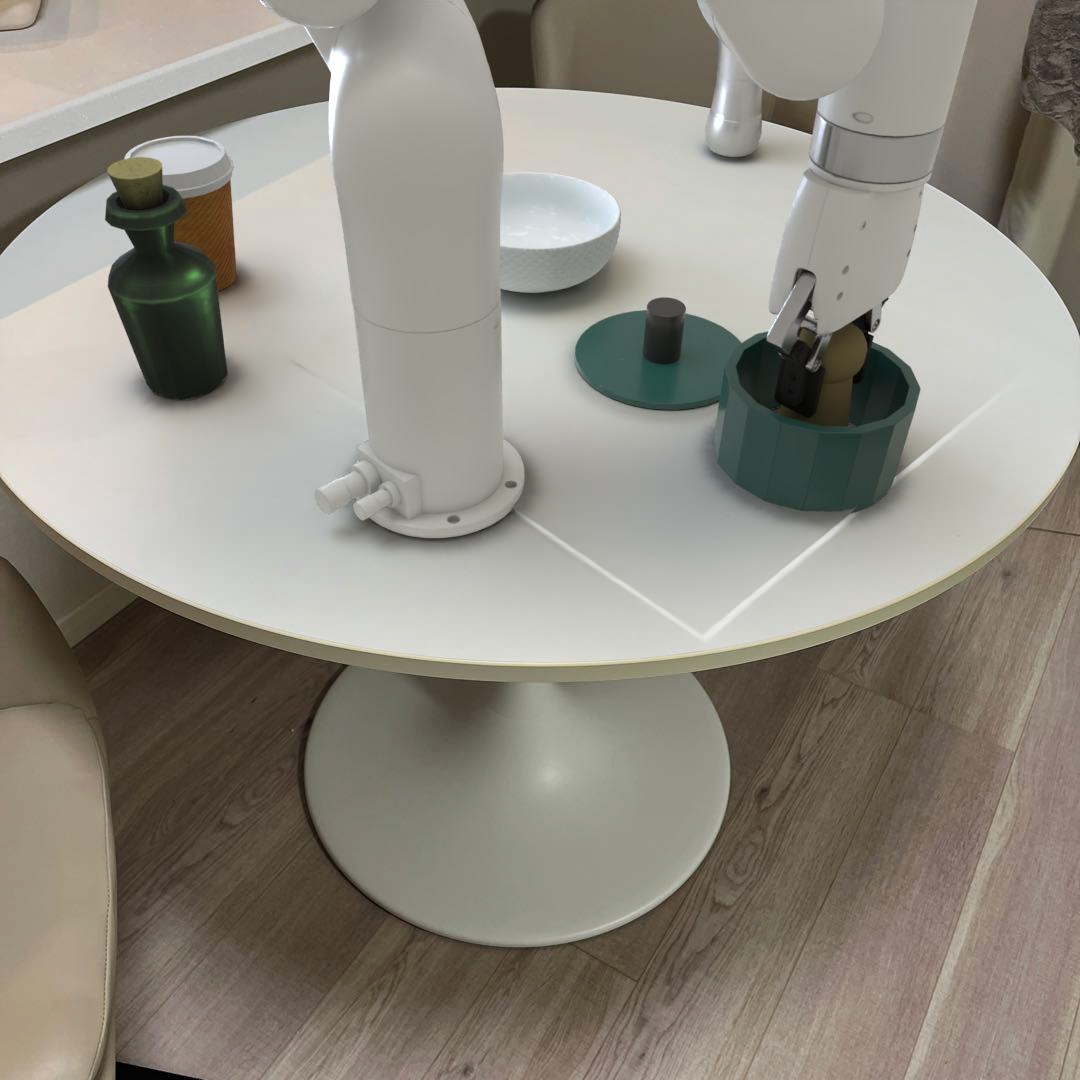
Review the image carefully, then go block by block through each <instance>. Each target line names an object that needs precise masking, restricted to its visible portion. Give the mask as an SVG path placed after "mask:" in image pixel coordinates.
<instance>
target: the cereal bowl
mask: <svg viewBox="0 0 1080 1080" xmlns="http://www.w3.org/2000/svg"><path fill="white" fill-rule="evenodd" d="M621 223H622V210H621V206H620V204H619V202H618V201H617V199H616V198H615V197H614V196H613V195H612V194H611V193H610V192H608V191H607V190H606V189H604V188H602V187H601V186H599V185H597V184H595V183H592V182H590V181H587V180H584V179H581V178H578V177H574V176H570V175H565V174H560V173H553V172H543V171H513V172H503V185H502V200H501V221H500V280H501V290H503V291H510V292H515V293H522V294H540V293H548V292H554V291H560V290H563V289H564V290H565V289H568V288H572V287H574V286H577V285H579V284H581V283H583V282H585V281H587V280H590V279H591V278H592V277H593V276H595V275H597V274H598V272H600V271H601V270H602V269H603V268H604V267H605V266H606V265H607V263H609V261H610V259H611V258H612V256H613V253H615V250H616V246H617V245H618V240H619V237H620V231H621Z"/></svg>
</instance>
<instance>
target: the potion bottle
mask: <svg viewBox="0 0 1080 1080" xmlns="http://www.w3.org/2000/svg"><path fill="white" fill-rule="evenodd" d="M107 174H108V177H109V178H110V180H111V182H112V184H113V186H114V189H115V192H112V193H111V194H110V195H109V196H108V197H107V198H106V201H105V215H104V221H105V222H106V223H107V224H108V225H109V226H111V227H113V228H116V229H119V230H123V231H124V232H125V234H126V236H127V237H128V239H129V241H130V242H131V245H132V246H133V247H132V248H131V249H129V250H128V251H125V253H123V254H121V255H119V257H118V258H117V259H116V260H114V262H113V263H112V264H111V267H110V269H109V273H108V276H107V288H108V292H109V293H110V296H111V299H112V300H113V303H114V306H115V308H116V311H117V314H118V317H119V318H120V321H121V324H122V326H123V329H124V331H125V334H126V336H127V339H128V341H129V343H130V346H131V348H132V351H133V353H134V356H135V358H136V361H137V363H138V366H139V369H140V372H141V374H142V376H143V378H144V380H145V384H146V386H147V387H148V388H149V389H150V390H151V392H153V393H154V394H156V395H158V396H161V397H163V398H166V399H170V400H189V399H197V398H199V397H202V396H205V395H208V394H211V393H212V392H213V391H215V390H216V389H218V388H219V387H220V386H221V385H222V384H223V382H224V381H225V379H226V378H227V376H228V366H227V357H226V348H225V339H224V330H223V323H222V322H223V321H222V314H221V306H220V297H219V291H218V288H217V279H216V271H215V265H214V263H213V262H212V261H211V260H210V259H209V258H208V257H207V256H206V255H205V254H204V253H203V252H202V251H201V250H200V249H199V248H196V247H193V246H190V245H187V244H184V243H179V242H175V241H174V222H176V221H178V220H180V219H181V218H182V217H183V216H184V215H185V213H186V212H187V205H186V204H185V202H184V200H183V199H182V197H181V195H180V194H179V192H178V191H177V190H175V189H174V188H173V187H169V186H166V185H163V177H162V163H161V162H160V161H159V160H157V159H153V158H148V157H136V158H128V159H120V160H118V161H116V162H113V163H112V164H111V165H110V166H109V167H107Z"/></svg>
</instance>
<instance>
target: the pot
mask: <svg viewBox="0 0 1080 1080" xmlns="http://www.w3.org/2000/svg"><path fill="white" fill-rule="evenodd" d="M769 331H770V330H767V331H764V332H763V331H762V332H758V333H756V334H754V335H752V336H750V337H749V338H747V339H745V340H744V341H742V342H741V343H740V344H739V345H737V346H736V347H735V348H734V349H733V351H732V353H731V355H730V357H729V359H728V361H727V362H726V364H725V368H724V375H723V381H722V388H721V394H720V401H718V408H717V415H716V421H715V428H714V433H713V434H714V435H713V441H712V444H713V448H714V454H715V458H716V463H717V464H718V466H719V467H720V468H721V469H722V470H723V471H724V472H725V474H726V475H727V476H728V477H729V479H731V480H732V482H733V483H734V484H735V485H736V486H737V487H740V488H741V489H743V490H745V491H747V492H748V493H750V494H752V495H753V496H755V497H757V498H759V499H760V500H762V501H764V502H765V503H766V502H767V503H770V504H772V505H773V504H774V505H777V506H782V507H786V508H789V509H792V510H795V511H796V510H797V511H801V512H843V511H848V510H851V509H854V510H852V511H851V512H850V514H853V513H854V514H855V513H857V512H861V511H863V510H865V509H868V508H870V507H872V506H874V505H876V503H878V502H879V501H880V500H881V499H882V498H884V497H885V496H886V495H887V494H888V492H889V491H890V489H891V487H892V486H893V483H894V480H895V477H896V475H897V474H896V473H897V470H898V467H899V464H900V461H901V457H902V455H903V451H904V448H905V445H906V441H907V439H908V438H907V437H908V435H909V432H910V428H911V425H912V421H913V418H914V416H915V412H916V409H917V404H918V402H919V397H920V394H921V390H922V389H921V386H920V383H919V382H918V380H917V378H916V376H915V375H916V374H915V373H914V371H913V368H912V367H911V366H910V365H909V364H908V363H906V361H904V360H903V359H902V358H901V357H899V356H898V355H897V354H896V353H894V352H893V351H892V350H891V349H890V348H887V346H883V345H881V344H879V343H876V342H874V341H873V342H872V346H871V350H870V354H869V358H868V362H867V365H866V369H865V373H864V377H863V380H862V381H861V382H859V383H858V384H853V383H852V393H851V404H850V414H849V423H851V424H853V425H855V426H850V425H848V426H820V425H815V424H811V423H807V422H803V421H799V420H794V419H790V418H786V417H784V416H782V415H780V414H778V412H776V411H774V410H772V409H775V408H776V409H777V408H778V409H780V406H781V404H779V403H777V402H776V401H775V398H774V396H775V391H776V386H777V380H778V375H779V370H780V365H781V360H782V358H780V357H779V355H778V354H779V352H778V351H777V350H776V348H775V347H774V346H772V345H771V344H770V343H769V342H767V335H768V332H769Z"/></svg>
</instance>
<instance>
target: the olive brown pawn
mask: <svg viewBox="0 0 1080 1080" xmlns="http://www.w3.org/2000/svg"><path fill="white" fill-rule="evenodd" d="M813 318H814V317H813ZM814 319H816V318H814ZM816 320H818V319H816ZM816 335H817V334H815V333H813V332H811V331H808V330H806V329H804V328H802V331H801V334H800V337H799V339H800V340H801V341H803V342H805V343H807V345H808V346H809V347H810V348H811V349H812V346H813V343H814V341H815V338H816ZM866 353H867V342H866V339H865V336H864V334H863V332H862V331H861V330H860V329H859V328H858V327H857V326H855V325H854V324H852V323H849V324H847V325H845V326H844V327H842V328H840V329H839V330H837V331H835V332H833V334H832V337H831V339H830V342H829V345H828V347H827V350H826V352H825V355H824V358H823V360H822V363H821V365H820V366H822V367H823V368H826V370H825V375H824V379H823V384H822V388H821V392H820V397H819V401H818V406H817V410H816V413H815V414H814V415H813V416H812V417H810V418H807V417H805V416H803V415H801V414H799V413H797V412H795V411H793V410H791V409H789V408H787V407H785V406H783V405H781V406H780V408H778V410H777V411H778V412H777V413H778V414H780V415H782V416H784V417H786V418H790V419H794V420H799V421H803V422H807V423H811V424H815V425H820V426H850V425H849V423H850V422H849V414H850V404H851V393H852V382H853V376H854V375H855V374H856V373H857V372H859V371H860V369H861V367H862V366H863V364H864V361H865V357H866Z"/></svg>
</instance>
